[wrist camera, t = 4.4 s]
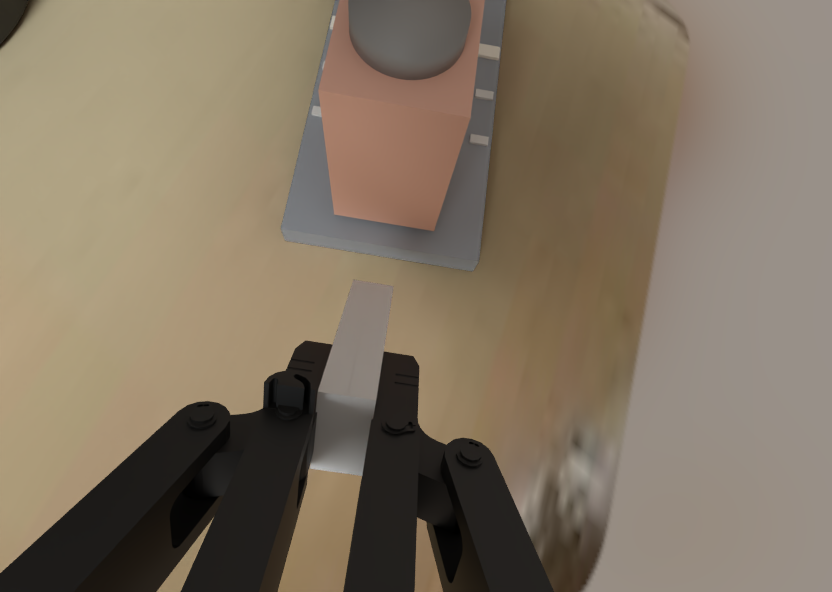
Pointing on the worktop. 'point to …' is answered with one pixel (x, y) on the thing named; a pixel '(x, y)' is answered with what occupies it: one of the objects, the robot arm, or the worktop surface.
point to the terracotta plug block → (398, 105)
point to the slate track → (464, 198)
